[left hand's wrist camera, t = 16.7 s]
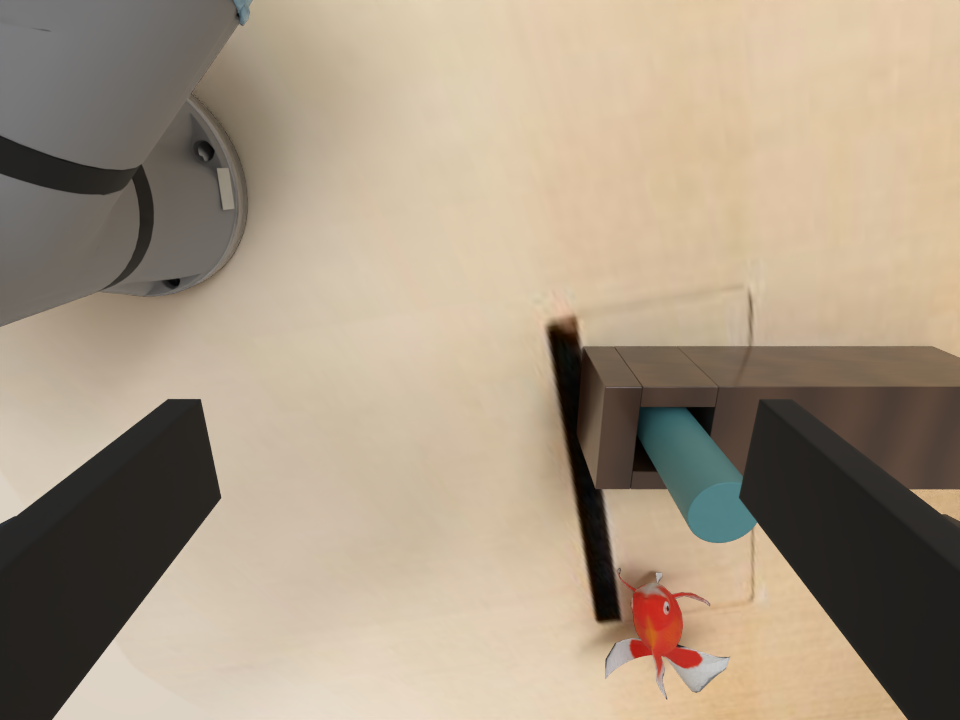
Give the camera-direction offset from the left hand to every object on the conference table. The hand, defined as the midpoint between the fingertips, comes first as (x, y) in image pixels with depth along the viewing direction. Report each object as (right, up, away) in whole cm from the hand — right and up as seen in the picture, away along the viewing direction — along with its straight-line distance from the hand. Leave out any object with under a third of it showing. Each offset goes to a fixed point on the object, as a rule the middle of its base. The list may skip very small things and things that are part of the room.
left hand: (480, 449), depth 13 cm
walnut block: (+22, 0, +31) cm, 38 cm away
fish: (+17, -22, +39) cm, 48 cm away
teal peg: (+13, -1, +30) cm, 33 cm away
